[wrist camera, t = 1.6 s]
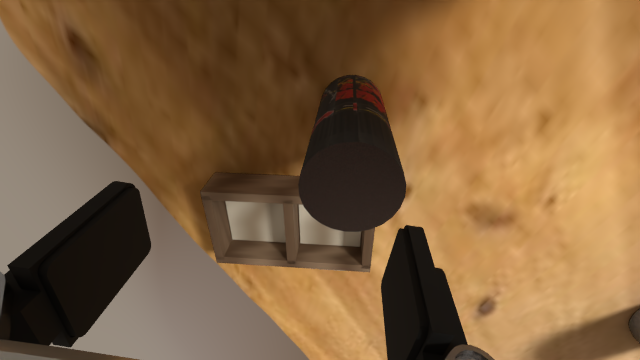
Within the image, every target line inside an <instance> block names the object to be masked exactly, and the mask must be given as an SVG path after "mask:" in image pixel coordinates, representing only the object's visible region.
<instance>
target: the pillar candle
mask: <svg viewBox="0 0 640 360" xmlns="http://www.w3.org/2000/svg"><path fill="white" fill-rule="evenodd" d="M629 328H630V331H631V332H632V334H633V337H634V338H635V339H636V340H637V341H638V342H639V343H640V309H639V310H637V312H635V313H634V315H633V316H632V318H631V319H630V321H629Z"/></svg>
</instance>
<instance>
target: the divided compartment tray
mask: <svg viewBox="0 0 640 360" xmlns="http://www.w3.org/2000/svg"><path fill="white" fill-rule="evenodd" d="M299 179H300V176H284V175H260V174H236V173H214V174H213V176H212V177H211V178H210V180H209V181H208V182H207V183H206V185H205V186H204V187H203V189H202V190H201V191H200V193H201V198H202V202H203V206H204V210H205V214H206V219H207V223H208V227H209V231H210V235H211V240H212V244H213V248H214V252H215V256H216V261H217V263H232V264H245V265H261V266H280V267H296V268H311V269H324V270H340V271H359V272H370V266H371V257H372V249H373V240H374V231H375V228H373V229H370V230H365V231H360V232H344V231H340V230H335V229H331V228H329V227H327V226H325V225H323V224H321V223H319V222H318V221H317V220H315V219H314V218H313V217H311V215H310V214H309V213H308V212H307V210H306V209H305V208H304V206H303V204H302V201H301V199H300V197H299V188H298V183H299Z"/></svg>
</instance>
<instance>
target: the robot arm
mask: <svg viewBox="0 0 640 360" xmlns="http://www.w3.org/2000/svg"><path fill="white" fill-rule="evenodd" d="M150 249H151V241H150V237H149V232H148V228H147V224H146V219H145V214H144V210H143V206H142V201H141V197H140V192H139V190H138V189H137V188H135V186H134V185H133V184H131V183H125V182H118V181H114V182H112V183H111V184H109V185H108V186H107V187H106V188H104V189H103V190H102V191H101V192H99V193H98V194H97V195H96V196H94V197H93V198H92V199H90V200H89V201H88V202H87V203H85V204H84V205H83V206H82V207H80V208H79V209H78V210H77V211H75V212H74V213H73V214H72V215H70V216H69V217H68V218H67V219H65V220H64V221H63V222H62V223H60V224H59V225H58V226H57V227H55V228H54V229H53V230H51V231H50V232H49V233H48V234H46V235H45V236H44V237H43V238H41V239H40V240H39V241H38V242H36V243H35V244H34V245H33V246H31V247H30V248H29V249H27V250H26V251H25V252H24V253H23V254H21V255H20V256H19V257H17V258H16V259H15V260H14V261H12V262H11V263H10V264H9V265H8V267H9V269H10V270H9V271H8V272H7V273H6V274H5V275H3V274H2V273H1V272H0V360H138V359H132V358H125V357H119V356H112V355H106V354H99V353H93V352H87V351H80V350H74V349H67V348H60V347H54V346H49V345H50V344H51V343H53V345H59V346H65V347H71V346H72V345H73V344H74V343H75V341H76V340H77V339H78V338H79V337H82V336H83V335H85V334H86V333H87V332H88V330H89V329H90V328H91V326H92V325H93V324H94V323H95V321H96V320H97V319H98V317H99V316H100V315H101V314H102V312H103V311H104V310H105V309H106V307H107V306H108V305H109V303H110V302H111V301H112V300H113V298H114V297H115V296H116V295H117V293H118V292H119V291H120V289H121V288H122V287H123V285H124V284H125V283H126V282H127V280H128V279H129V278H130V277H131V275H132V274H133V273H134V271H135V270H136V269H137V267H138V266H139V265H140V264H141V262H142V261H143V260H144V259H145V257H146V256H147V255H148V253H149V251H150ZM381 293H382V304H383V314H384V325H385V336H386V347H387V357H388V360H494V359H493V358H492V357H491V356H490V355H489V354H488V353H486V352H485V351H483V350H481V349H480V348H477V347H474V346H472V345H468V344H467V341H466V338H465V335H464V332H463V329H462V325H461V322H460V319H459V316H458V313H457V310H456V307H455V304H454V301H453V298H452V294H451V291H450V288H449V285H448V282H447V279H446V276H445V273H444V271H443V270H442V269H440V268H435V267H434V263H433V260H432V256H431V253H430V250H429V246H428V243H427V239H426V236H425V233H424V230H423V228H422V227H415V226H409V225H406V226H405V227H404V229H401V228H400V229H399V230H398V233H397V236H396V239H395V242H394V245H393V248H392V251H391V254H390V257H389V260H388V263H387V266H386V269H385V272H384V275H383V279H382V283H381Z"/></svg>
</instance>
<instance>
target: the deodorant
mask: <svg viewBox="0 0 640 360" xmlns="http://www.w3.org/2000/svg"><path fill="white" fill-rule="evenodd" d="M298 188H299V197H300V199H301V201H302V204H303V206H304V208H305V209H306V210H307V212H308V213H309V214H310V215H311V217H313V218H314V219H315V220H317V221H318V222H319V223H321V224H323V225H325V226H327V227H329V228H331V229H335V230H340V231H344V232H360V231H365V230H370V229H373V228H375V227H377V226H380V225H382V224H384V223H385V222H386V221H388V220H389V219H390V218H392V217H393V216H394V215H395V213H396V212H397V211H398V210H399V209H400V207H401V205H402V202H403V200H404V198H405V192H406V181H405V177H404V172H403V169H402V165H401V162H400V159H399V155H398V152H397V148H396V145H395V141H394V138H393V135H392V131H391V128H390V124H389V121H388V118H387V114H386V111H385V107H384V104H383V100H382V97H381V94H380V92H379V90H378V88H377V87H376V86H375V85H374V84H373V83H372V82H371V81H370V80H368V79H366V78H364V77H361V76H357V75H347V76H343V77H340V78H338V79H336V80H335V81H333V82H332V83H331V84H330V85H329V86H328V87H327V88H326V90H325V92H324V94H323V96H322V99H321V102H320V106H319V110H318V113H317V117H316V120H315V124H314V127H313V131H312V134H311V138H310V142H309V145H308V149H307V152H306V156H305V159H304V163H303V167H302V170H301V174H300V179H299V183H298Z"/></svg>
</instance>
